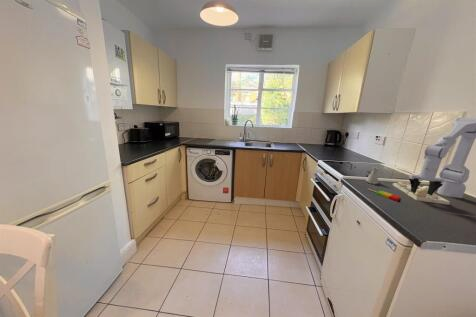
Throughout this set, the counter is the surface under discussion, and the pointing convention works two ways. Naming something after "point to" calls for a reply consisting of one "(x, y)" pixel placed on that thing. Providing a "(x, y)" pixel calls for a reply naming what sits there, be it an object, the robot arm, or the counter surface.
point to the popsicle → (387, 195)
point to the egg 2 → (425, 188)
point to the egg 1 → (421, 193)
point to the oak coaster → (404, 183)
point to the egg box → (429, 198)
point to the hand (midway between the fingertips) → (421, 193)
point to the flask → (373, 176)
